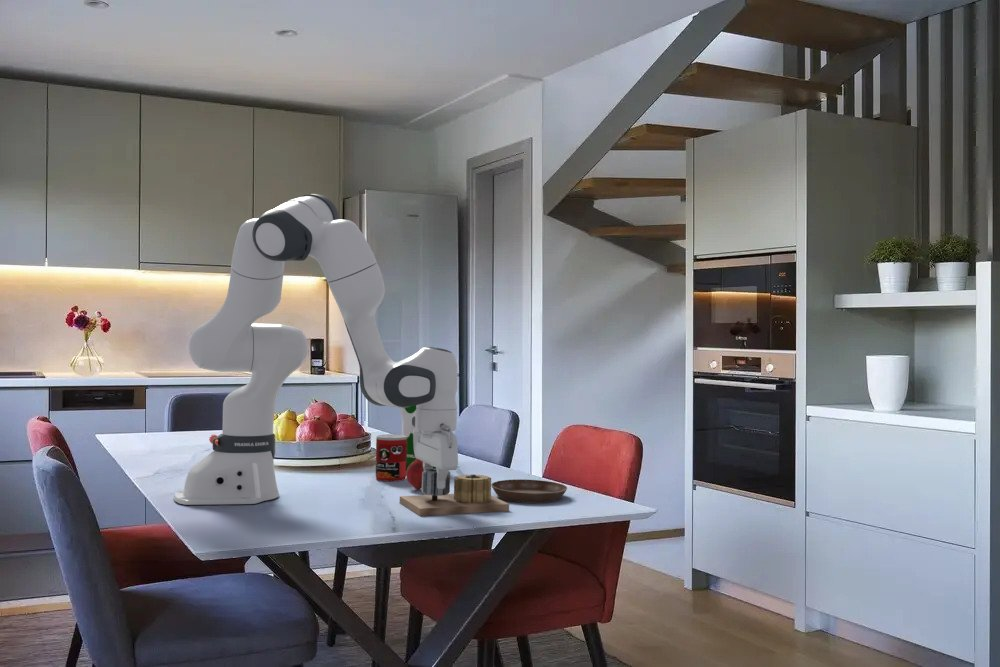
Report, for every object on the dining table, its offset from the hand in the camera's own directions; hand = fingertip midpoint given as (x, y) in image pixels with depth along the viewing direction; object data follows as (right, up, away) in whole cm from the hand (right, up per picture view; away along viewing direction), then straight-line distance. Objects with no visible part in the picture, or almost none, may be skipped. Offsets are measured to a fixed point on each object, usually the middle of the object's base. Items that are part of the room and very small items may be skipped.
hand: (434, 485), depth 210 cm
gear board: (+4, -5, +1) cm, 6 cm away
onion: (-5, -5, +22) cm, 23 cm away
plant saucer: (+21, -6, +15) cm, 26 cm away
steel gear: (0, -2, 0) cm, 2 cm away
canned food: (-14, -4, +37) cm, 39 cm away
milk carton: (-8, -4, +52) cm, 53 cm away
